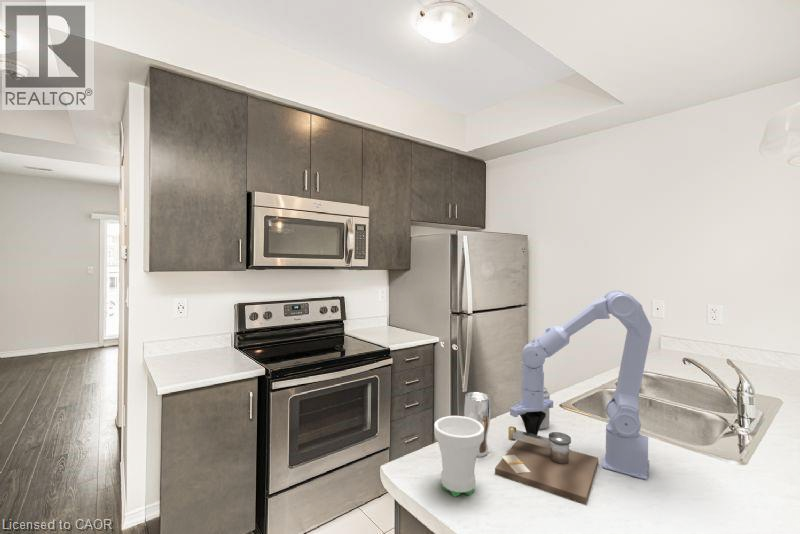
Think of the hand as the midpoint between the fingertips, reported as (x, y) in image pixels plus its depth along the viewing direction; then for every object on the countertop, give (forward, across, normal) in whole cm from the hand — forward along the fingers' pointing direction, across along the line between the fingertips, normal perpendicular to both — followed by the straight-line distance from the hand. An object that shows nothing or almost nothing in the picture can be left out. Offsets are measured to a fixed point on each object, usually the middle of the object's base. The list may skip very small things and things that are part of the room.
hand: (531, 437), depth 104 cm
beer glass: (+4, +14, -7) cm, 16 cm away
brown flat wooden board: (+3, +4, +8) cm, 10 cm away
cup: (+4, +28, +4) cm, 29 cm away
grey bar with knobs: (+2, +2, +4) cm, 5 cm away
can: (+4, -14, -10) cm, 18 cm away
